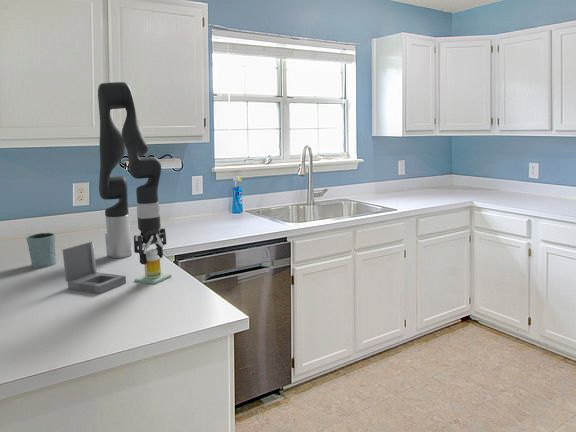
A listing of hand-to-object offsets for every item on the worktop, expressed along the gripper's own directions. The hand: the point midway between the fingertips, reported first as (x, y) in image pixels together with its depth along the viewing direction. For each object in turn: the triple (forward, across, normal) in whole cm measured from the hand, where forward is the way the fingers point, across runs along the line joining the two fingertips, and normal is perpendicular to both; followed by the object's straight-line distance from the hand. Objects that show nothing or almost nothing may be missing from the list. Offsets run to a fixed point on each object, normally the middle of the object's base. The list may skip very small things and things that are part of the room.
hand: (151, 260), depth 173 cm
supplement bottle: (+6, 0, 0) cm, 6 cm away
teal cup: (+7, 0, -54) cm, 54 cm away
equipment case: (+7, +13, -13) cm, 20 cm away
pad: (+7, 0, 0) cm, 7 cm away
